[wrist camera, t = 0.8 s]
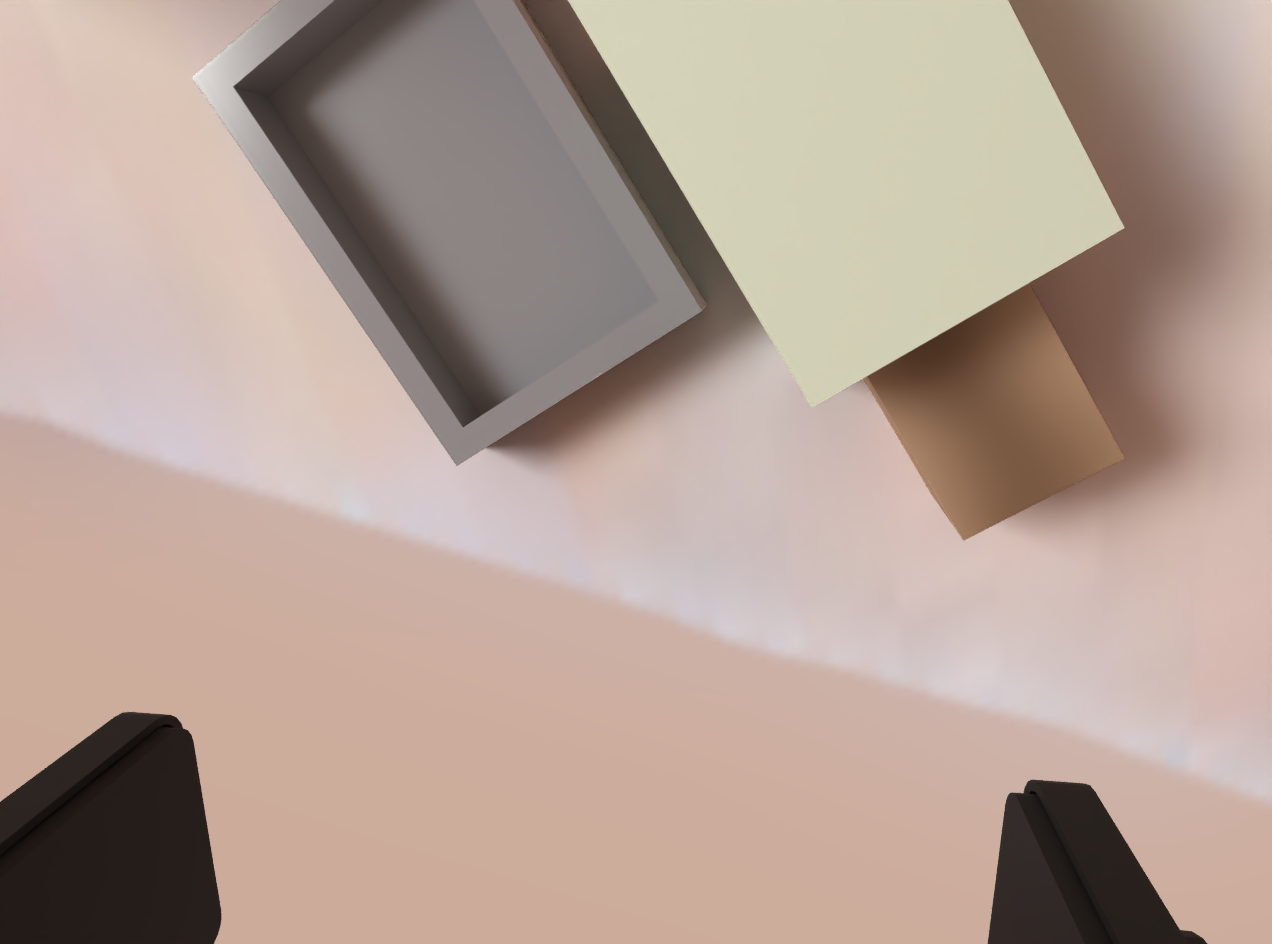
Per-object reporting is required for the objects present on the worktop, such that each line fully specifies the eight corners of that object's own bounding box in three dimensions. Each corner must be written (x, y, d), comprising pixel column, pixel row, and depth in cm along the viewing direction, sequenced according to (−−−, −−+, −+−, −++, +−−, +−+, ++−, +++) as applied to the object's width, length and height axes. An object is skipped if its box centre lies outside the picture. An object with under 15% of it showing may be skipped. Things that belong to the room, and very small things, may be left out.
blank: (922, 167, 28) (957, 151, 23) (1064, 423, 29) (1124, 458, 24) (789, 252, 29) (795, 254, 24) (930, 493, 30) (964, 540, 26)
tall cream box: (841, -114, 26) (876, -257, 18) (1025, 231, 28) (1124, 227, 20) (613, 56, 28) (561, -11, 20) (797, 366, 30) (811, 407, 22)
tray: (464, -95, 27) (432, -132, 25) (706, 304, 30) (701, 311, 27) (242, 92, 30) (191, 77, 27) (481, 447, 32) (456, 465, 29)
